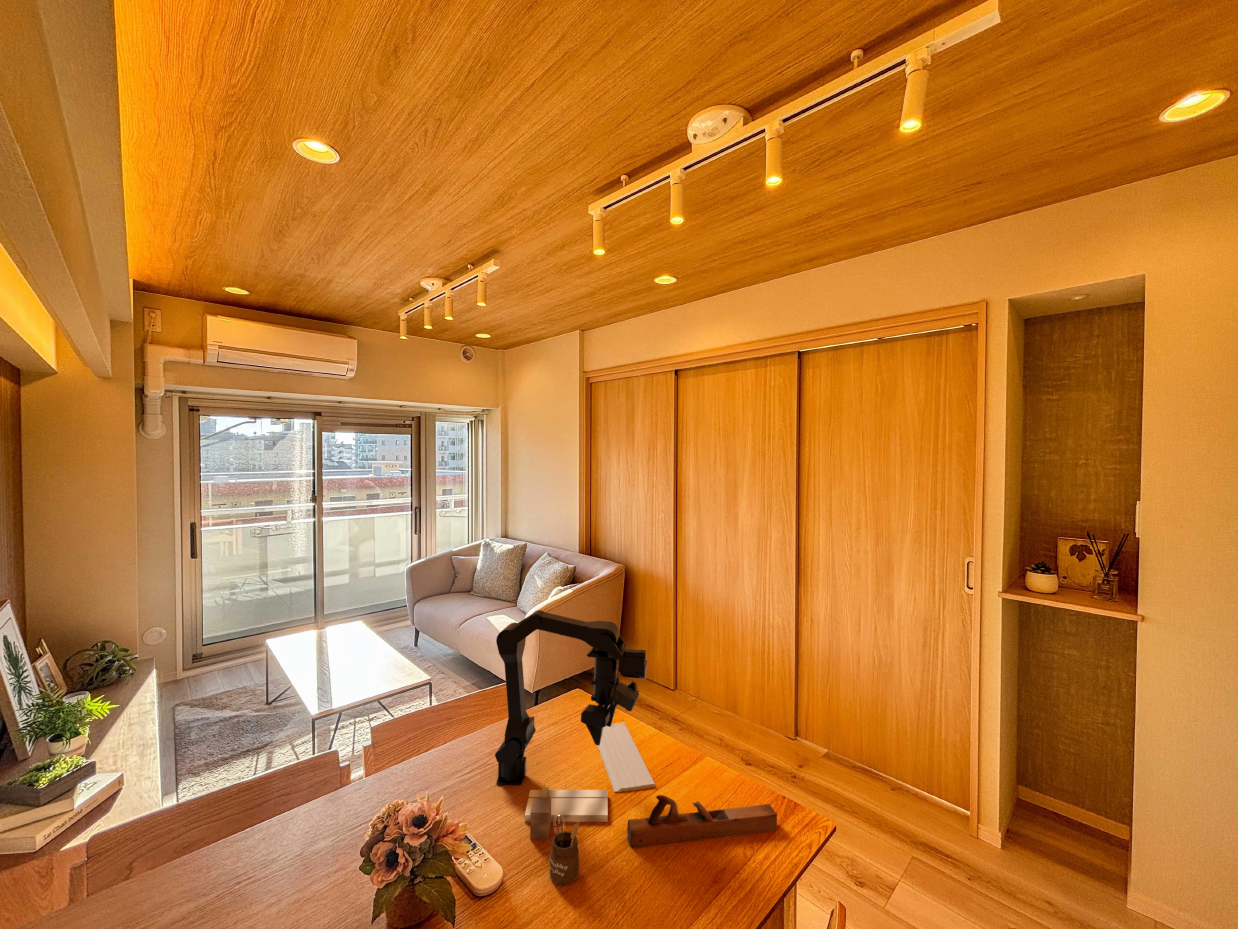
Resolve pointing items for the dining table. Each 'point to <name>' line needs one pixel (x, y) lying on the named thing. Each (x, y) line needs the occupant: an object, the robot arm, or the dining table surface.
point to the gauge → (541, 817)
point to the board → (573, 805)
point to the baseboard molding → (623, 760)
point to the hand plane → (698, 824)
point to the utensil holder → (564, 856)
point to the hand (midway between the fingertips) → (603, 735)
